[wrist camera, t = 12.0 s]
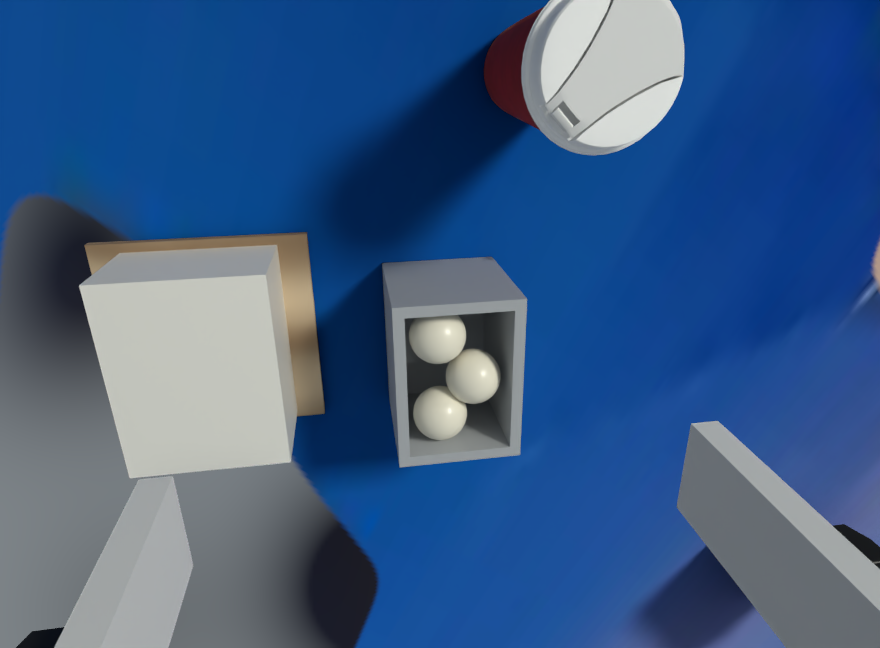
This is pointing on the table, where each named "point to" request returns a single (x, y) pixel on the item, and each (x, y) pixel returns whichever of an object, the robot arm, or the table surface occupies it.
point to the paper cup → (589, 71)
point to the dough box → (454, 359)
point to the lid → (195, 358)
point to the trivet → (294, 293)
